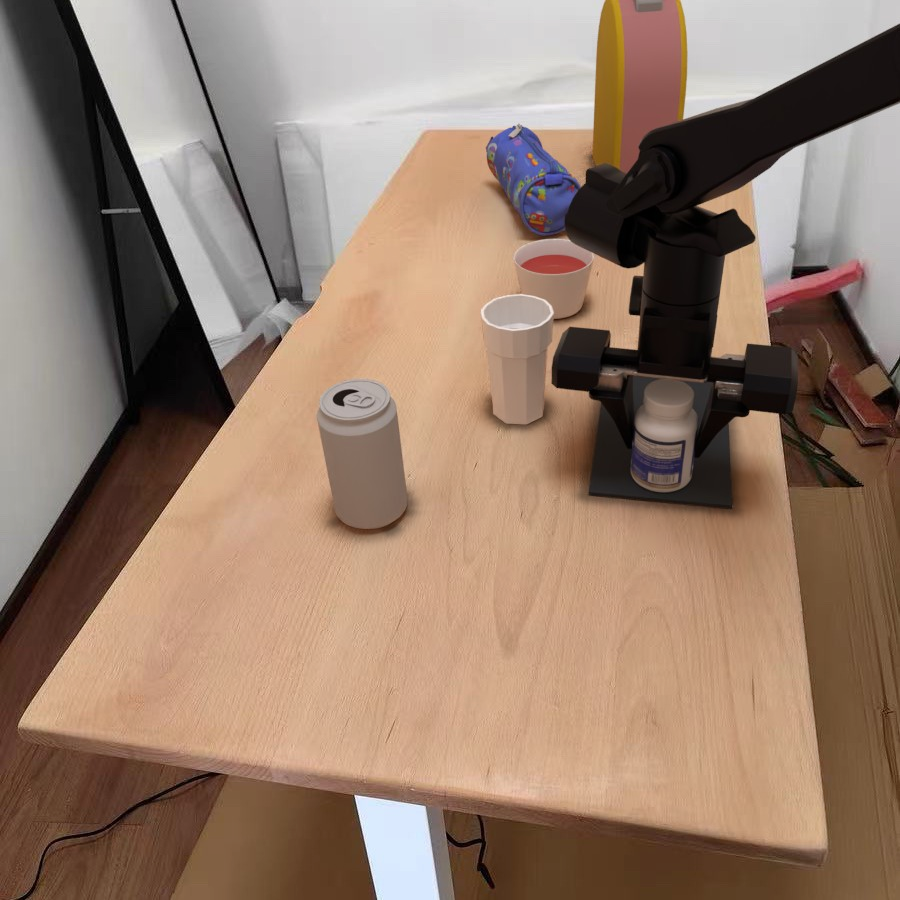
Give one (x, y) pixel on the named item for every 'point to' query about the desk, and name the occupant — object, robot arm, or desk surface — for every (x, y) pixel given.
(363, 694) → the desk surface
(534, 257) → the candle
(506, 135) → the pencil case
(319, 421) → the beverage can
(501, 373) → the cup
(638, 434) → the pill bottle
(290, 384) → the desk surface
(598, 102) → the lunch box
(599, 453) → the mat
